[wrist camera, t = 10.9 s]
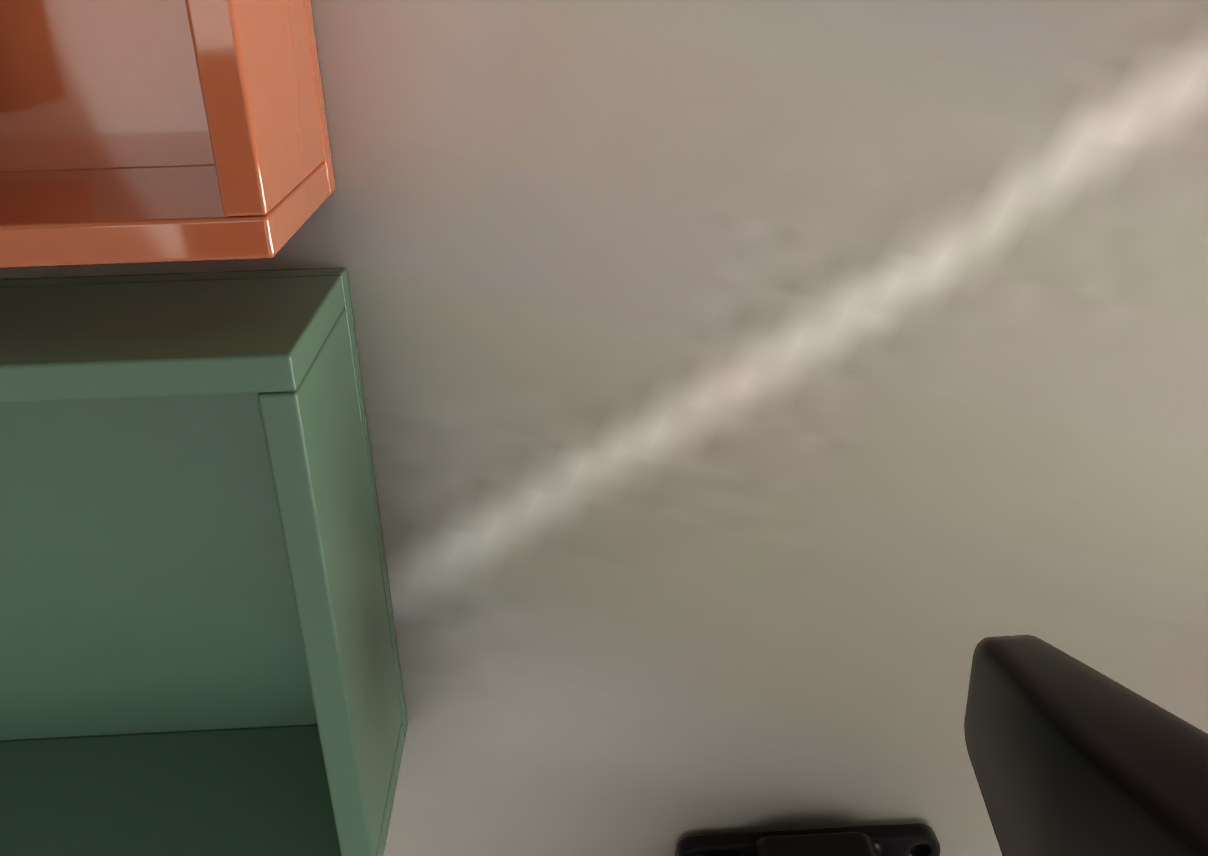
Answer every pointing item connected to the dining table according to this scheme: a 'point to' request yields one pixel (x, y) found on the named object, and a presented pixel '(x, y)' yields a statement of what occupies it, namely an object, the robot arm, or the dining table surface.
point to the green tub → (191, 571)
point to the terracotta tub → (158, 130)
